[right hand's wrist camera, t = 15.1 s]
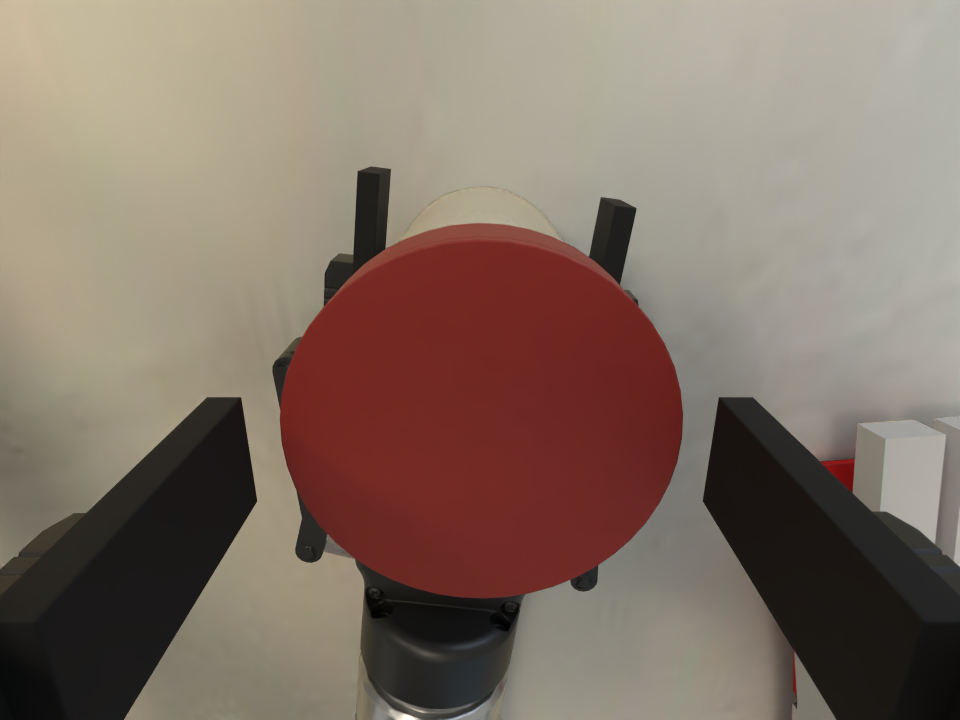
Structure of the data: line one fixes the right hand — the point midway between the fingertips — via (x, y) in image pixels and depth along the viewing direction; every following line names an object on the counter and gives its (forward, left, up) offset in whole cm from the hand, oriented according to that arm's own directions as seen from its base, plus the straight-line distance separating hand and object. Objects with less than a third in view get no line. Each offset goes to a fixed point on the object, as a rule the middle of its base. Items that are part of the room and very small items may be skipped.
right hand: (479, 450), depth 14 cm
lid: (0, 0, 0) cm, 0 cm away
